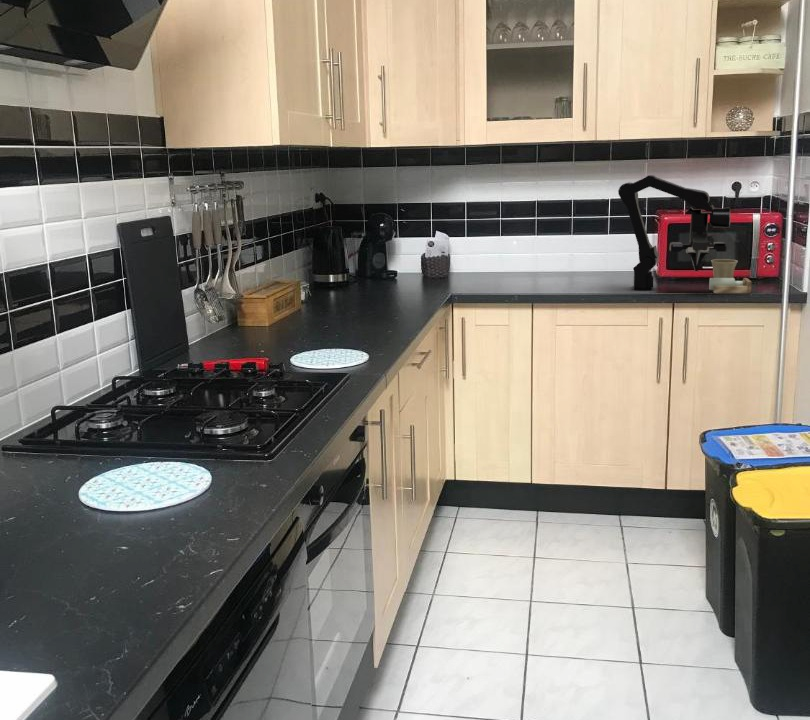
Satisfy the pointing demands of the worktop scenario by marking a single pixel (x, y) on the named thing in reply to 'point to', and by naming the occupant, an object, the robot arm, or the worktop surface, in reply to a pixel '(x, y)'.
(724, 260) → the flower pot
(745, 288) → the cradle
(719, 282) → the bottle
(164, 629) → the worktop surface
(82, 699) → the worktop surface
